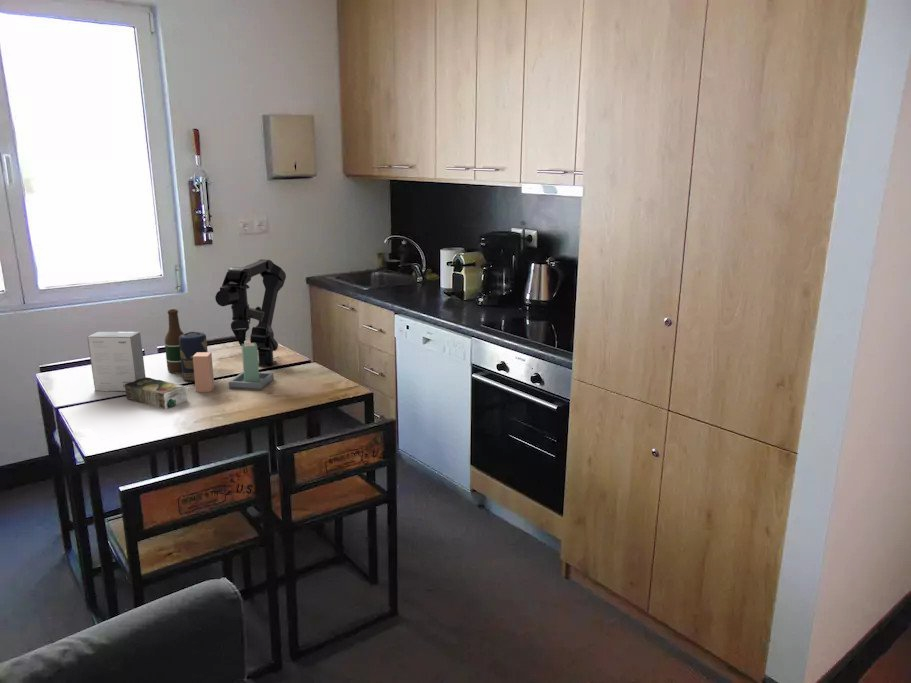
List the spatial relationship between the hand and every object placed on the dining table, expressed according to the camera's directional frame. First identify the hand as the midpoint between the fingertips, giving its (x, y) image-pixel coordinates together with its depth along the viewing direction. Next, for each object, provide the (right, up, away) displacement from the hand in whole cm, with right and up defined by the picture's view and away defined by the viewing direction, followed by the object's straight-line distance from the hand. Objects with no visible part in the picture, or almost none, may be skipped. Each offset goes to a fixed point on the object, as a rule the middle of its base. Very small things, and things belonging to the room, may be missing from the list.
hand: (242, 343), depth 252 cm
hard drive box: (-40, -16, -11) cm, 45 cm away
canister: (-17, -13, 0) cm, 22 cm away
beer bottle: (-28, -11, +9) cm, 31 cm away
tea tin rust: (-10, -16, -11) cm, 22 cm away
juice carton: (-22, -20, -22) cm, 37 cm away
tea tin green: (+5, -14, -5) cm, 16 cm away
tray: (+5, -15, -5) cm, 16 cm away
